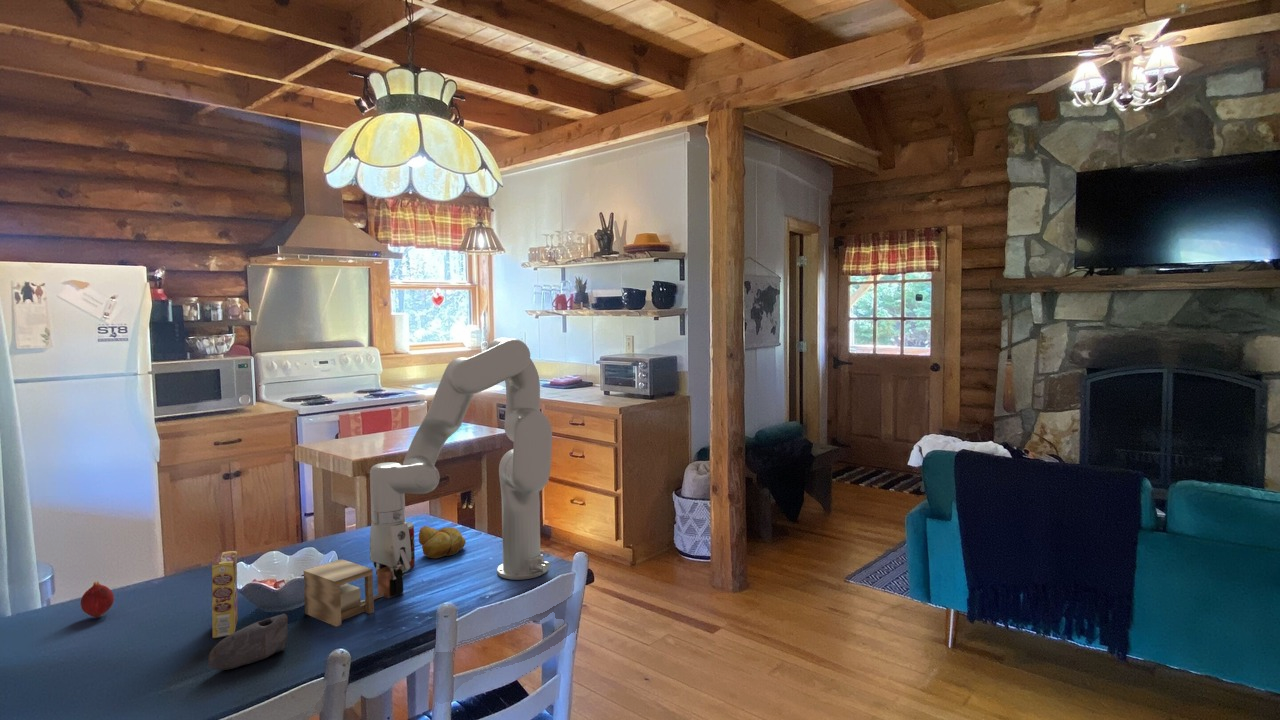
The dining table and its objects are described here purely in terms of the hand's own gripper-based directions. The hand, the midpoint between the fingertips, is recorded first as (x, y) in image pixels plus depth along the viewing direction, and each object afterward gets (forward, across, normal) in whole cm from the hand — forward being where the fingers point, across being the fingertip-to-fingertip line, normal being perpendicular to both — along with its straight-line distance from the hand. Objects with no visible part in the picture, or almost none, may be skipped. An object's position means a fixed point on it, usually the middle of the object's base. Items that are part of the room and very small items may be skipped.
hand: (390, 591), depth 166 cm
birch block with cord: (+1, 0, +6) cm, 6 cm away
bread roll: (+1, +13, -27) cm, 29 cm away
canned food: (+1, +14, -13) cm, 19 cm away
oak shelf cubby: (+1, 0, +13) cm, 13 cm away
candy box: (+1, +13, +31) cm, 33 cm away
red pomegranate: (+1, +43, +44) cm, 61 cm away
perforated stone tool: (+1, -6, +35) cm, 36 cm away
